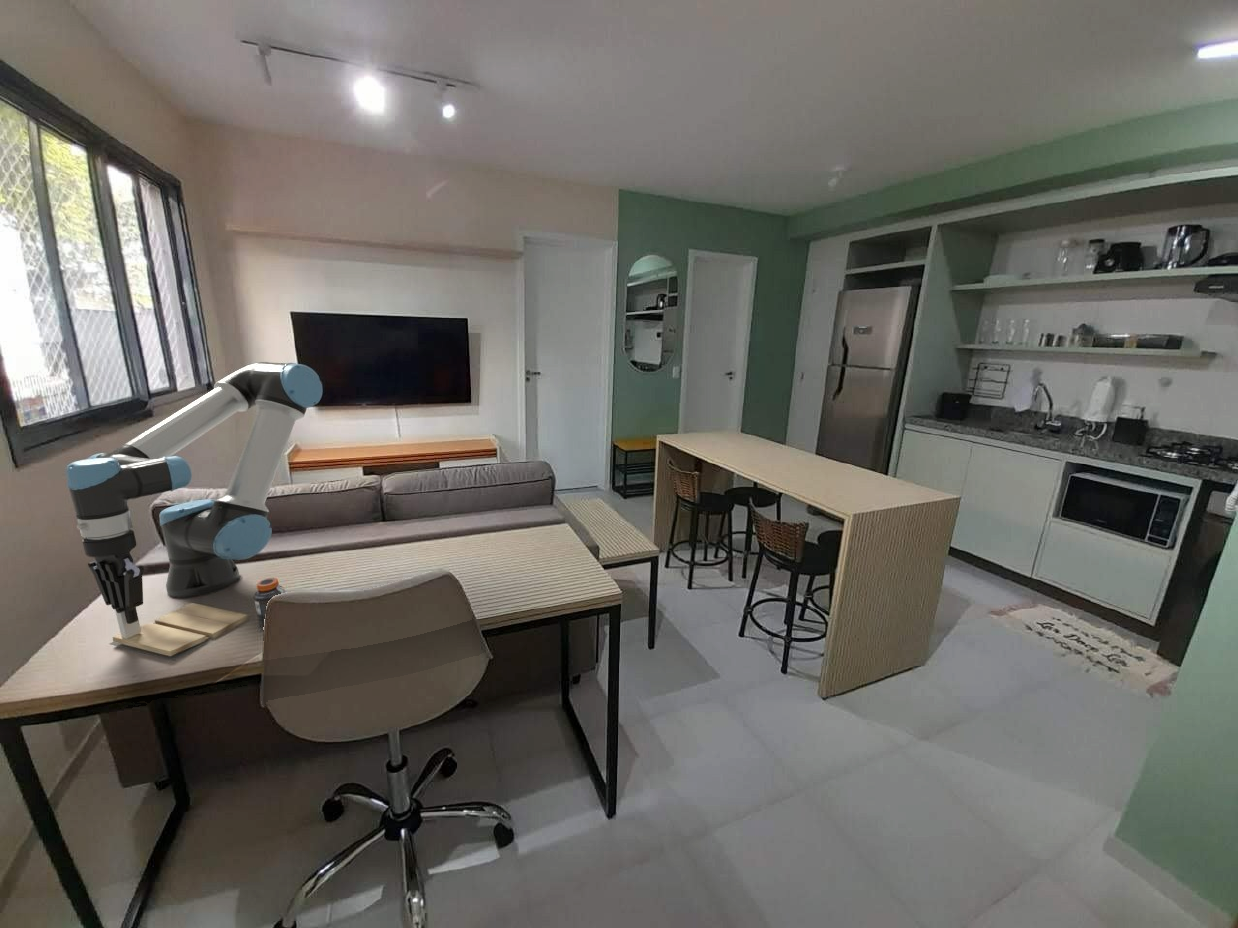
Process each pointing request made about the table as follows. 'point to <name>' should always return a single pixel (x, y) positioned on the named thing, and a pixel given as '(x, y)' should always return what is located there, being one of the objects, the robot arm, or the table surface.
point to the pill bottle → (265, 596)
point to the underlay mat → (175, 656)
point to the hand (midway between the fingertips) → (131, 634)
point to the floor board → (202, 620)
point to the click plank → (162, 639)
